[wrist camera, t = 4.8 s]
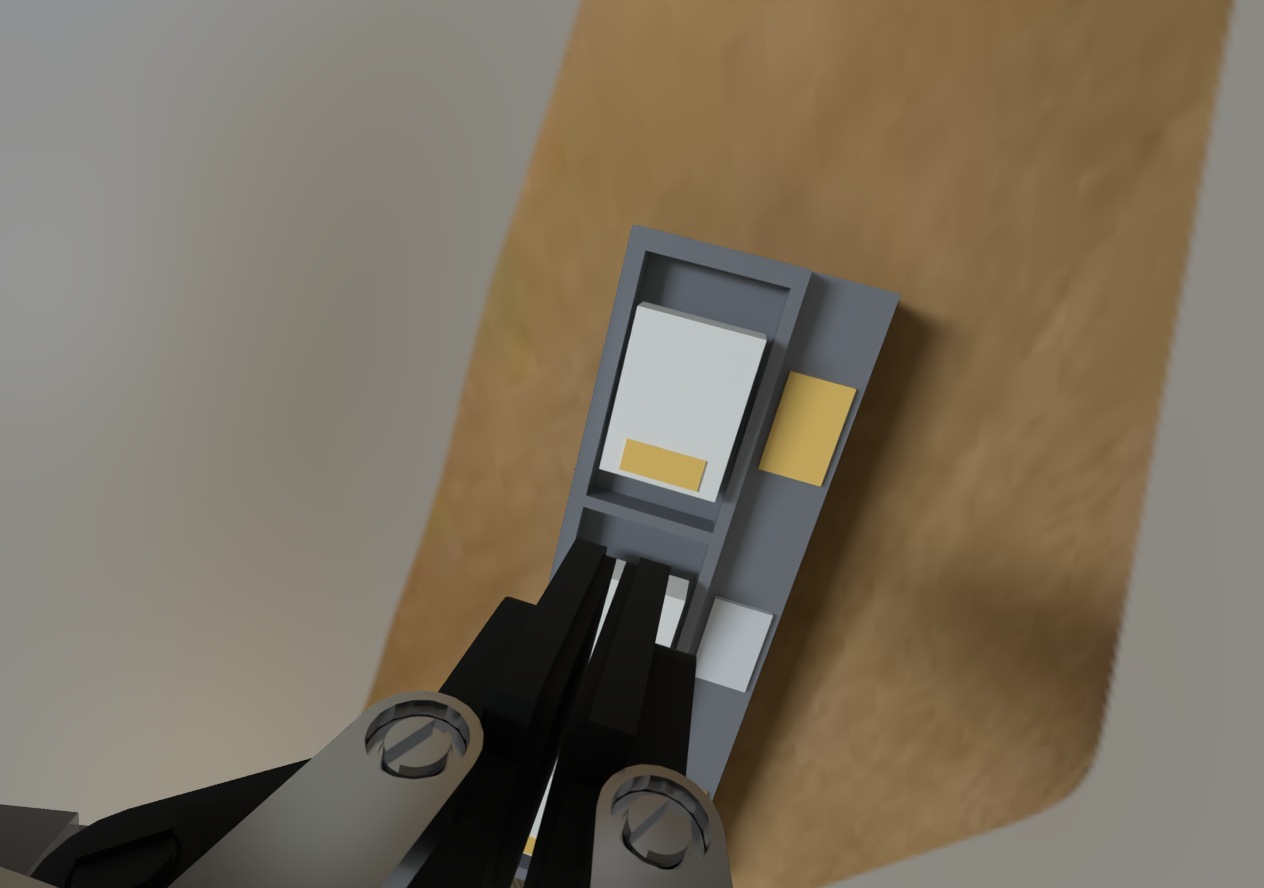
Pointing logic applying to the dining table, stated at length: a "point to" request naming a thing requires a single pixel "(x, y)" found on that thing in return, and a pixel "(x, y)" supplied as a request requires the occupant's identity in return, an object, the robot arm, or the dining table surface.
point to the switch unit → (732, 461)
